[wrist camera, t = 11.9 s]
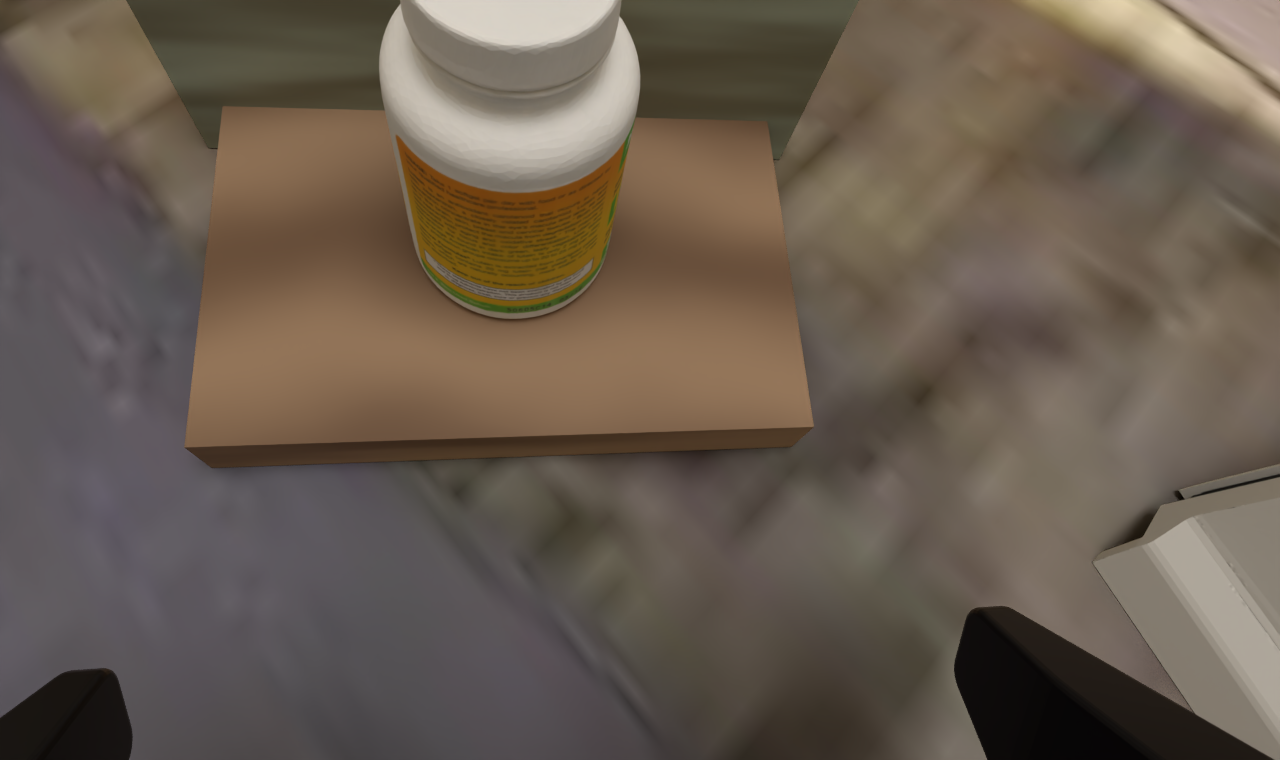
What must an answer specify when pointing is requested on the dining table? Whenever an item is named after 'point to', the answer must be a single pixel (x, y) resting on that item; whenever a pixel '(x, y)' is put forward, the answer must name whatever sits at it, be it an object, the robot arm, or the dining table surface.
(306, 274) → the wall board ledge
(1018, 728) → the robot arm
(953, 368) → the dining table surface
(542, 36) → the supplement bottle
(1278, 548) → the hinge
